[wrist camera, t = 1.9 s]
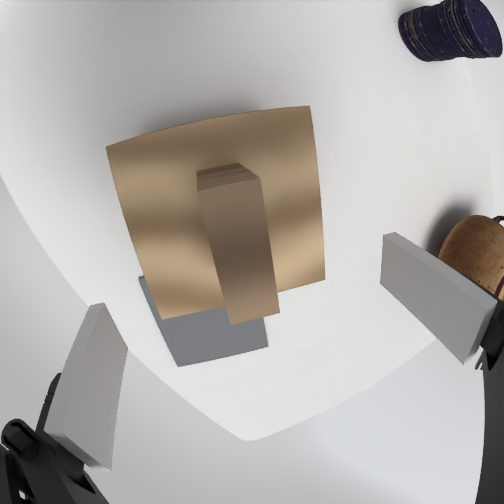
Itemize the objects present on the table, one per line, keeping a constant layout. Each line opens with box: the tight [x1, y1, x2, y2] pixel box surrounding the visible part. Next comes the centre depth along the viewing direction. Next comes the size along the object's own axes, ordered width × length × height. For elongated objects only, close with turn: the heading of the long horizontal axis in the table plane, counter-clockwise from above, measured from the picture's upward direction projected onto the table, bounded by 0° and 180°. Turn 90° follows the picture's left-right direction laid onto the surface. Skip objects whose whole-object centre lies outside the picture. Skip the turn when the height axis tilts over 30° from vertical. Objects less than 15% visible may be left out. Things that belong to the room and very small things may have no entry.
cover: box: [106, 106, 325, 325], centre depth 24 cm, size 15×15×22 cm
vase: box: [438, 215, 504, 302], centre depth 33 cm, size 21×18×30 cm
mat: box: [138, 276, 268, 367], centre depth 41 cm, size 18×16×1 cm
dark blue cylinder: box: [398, 0, 503, 62], centre depth 22 cm, size 10×10×15 cm
